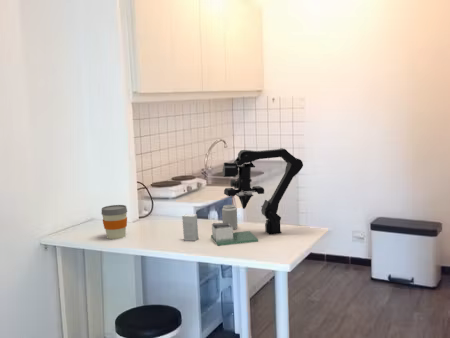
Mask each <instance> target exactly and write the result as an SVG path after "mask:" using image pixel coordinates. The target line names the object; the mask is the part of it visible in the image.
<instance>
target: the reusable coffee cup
mask: <svg viewBox="0 0 450 338" xmlns="http://www.w3.org/2000/svg"><path fill="white" fill-rule="evenodd" d="M127 212H128V208H127V205H124V204H111V205H106V206H104V207H102V208H101V215H102V224H103V227H104V230H105V233H106V238H107V239H108V240H119V239H123V238H125V237H126V232H127V231H126V230H127V228H126V227H127V226H128V217H127Z"/></svg>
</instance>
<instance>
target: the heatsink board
mask: <svg viewBox="0 0 450 338" xmlns="http://www.w3.org/2000/svg"><path fill="white" fill-rule="evenodd" d="M211 239H212V240H213V241H214V243H215V244H216V245H217V246H228V245H237V244H239V245H240V244H247V243H256V242H259V239H258V238H257V236H255V235H254V234H253V233H252V232H251V231H250V230H248V231H238V232H237V231H236V232H234V230H233V227H232V226H231V225H230V224H229V223H228V226H213V223H211Z"/></svg>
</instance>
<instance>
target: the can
mask: <svg viewBox="0 0 450 338" xmlns="http://www.w3.org/2000/svg"><path fill="white" fill-rule="evenodd" d="M221 214H222V215H221V216H222V223H229V224H230V225H231V226H232V227H233V231H235V230H236V229H237V228H238V227H239V226H238V208H237V207H236V205H235V204H224V205H223V206H222V208H221Z"/></svg>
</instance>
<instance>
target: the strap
mask: <svg viewBox="0 0 450 338" xmlns="http://www.w3.org/2000/svg"><path fill="white" fill-rule="evenodd" d="M212 224H213V226H228V223H223V222H217V223H215V222H212Z"/></svg>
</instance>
